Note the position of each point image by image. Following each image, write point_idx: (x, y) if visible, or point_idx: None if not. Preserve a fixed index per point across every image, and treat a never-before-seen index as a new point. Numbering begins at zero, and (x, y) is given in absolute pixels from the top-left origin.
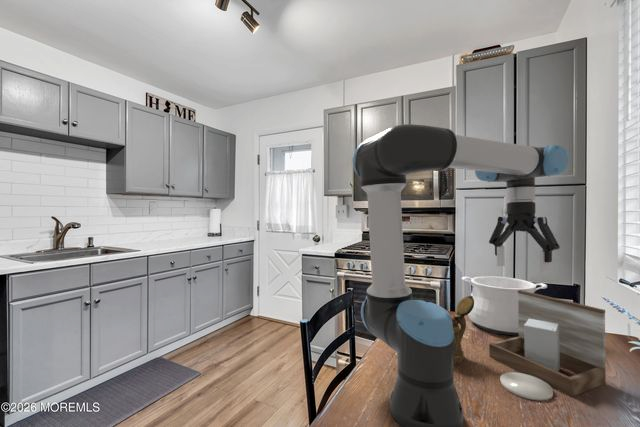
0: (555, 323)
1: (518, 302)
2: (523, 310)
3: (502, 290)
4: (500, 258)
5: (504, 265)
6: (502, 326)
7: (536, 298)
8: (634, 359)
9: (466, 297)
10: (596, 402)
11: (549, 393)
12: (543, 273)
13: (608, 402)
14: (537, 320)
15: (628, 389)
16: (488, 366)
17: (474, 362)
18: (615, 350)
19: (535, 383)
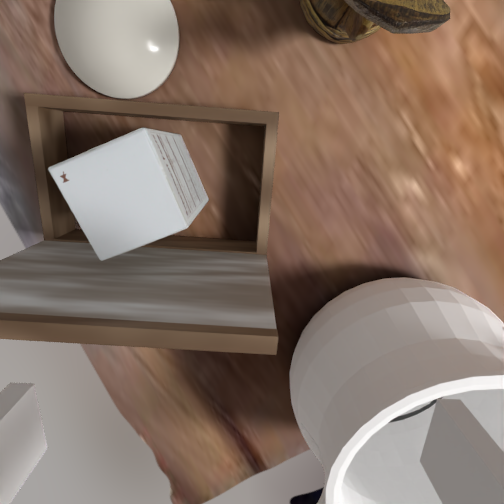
0: (105, 253)
1: (272, 306)
2: (249, 291)
3: (402, 393)
4: (487, 498)
5: (421, 463)
6: (344, 295)
7: (181, 322)
8: (115, 404)
9: (424, 13)
10: (20, 126)
11: (62, 40)
12: (9, 388)
13: (13, 151)
14: (154, 228)
15: None
16: (238, 51)
17: (275, 33)
18: (155, 420)
19: (108, 61)
